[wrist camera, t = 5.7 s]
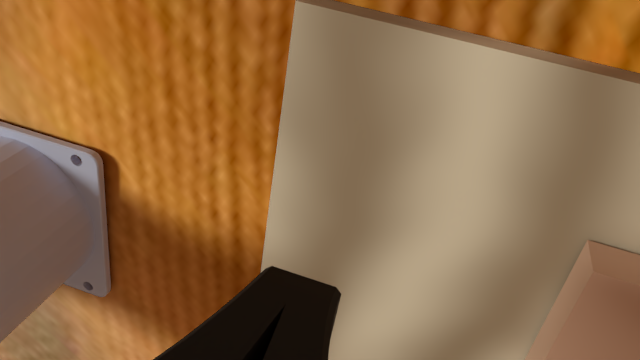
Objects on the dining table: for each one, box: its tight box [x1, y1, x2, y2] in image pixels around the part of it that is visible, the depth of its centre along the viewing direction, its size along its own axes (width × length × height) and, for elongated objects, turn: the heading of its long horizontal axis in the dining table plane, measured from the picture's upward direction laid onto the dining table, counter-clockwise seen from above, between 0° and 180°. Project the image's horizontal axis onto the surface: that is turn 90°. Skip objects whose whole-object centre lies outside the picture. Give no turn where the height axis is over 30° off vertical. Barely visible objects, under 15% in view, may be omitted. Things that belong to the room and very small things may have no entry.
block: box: [525, 240, 640, 360], centre depth 18 cm, size 2×6×6 cm
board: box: [261, 0, 640, 360], centre depth 20 cm, size 17×16×1 cm
